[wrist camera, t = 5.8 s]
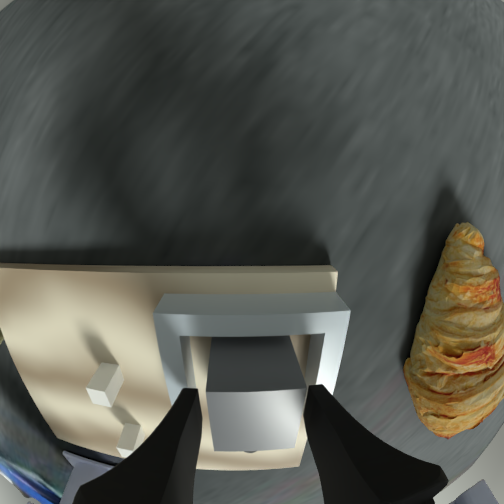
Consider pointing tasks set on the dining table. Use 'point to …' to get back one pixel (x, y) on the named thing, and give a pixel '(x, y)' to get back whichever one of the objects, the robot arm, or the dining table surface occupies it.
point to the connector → (254, 393)
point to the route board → (128, 345)
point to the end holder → (251, 329)
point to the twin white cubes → (104, 393)
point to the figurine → (1, 336)
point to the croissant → (459, 339)
